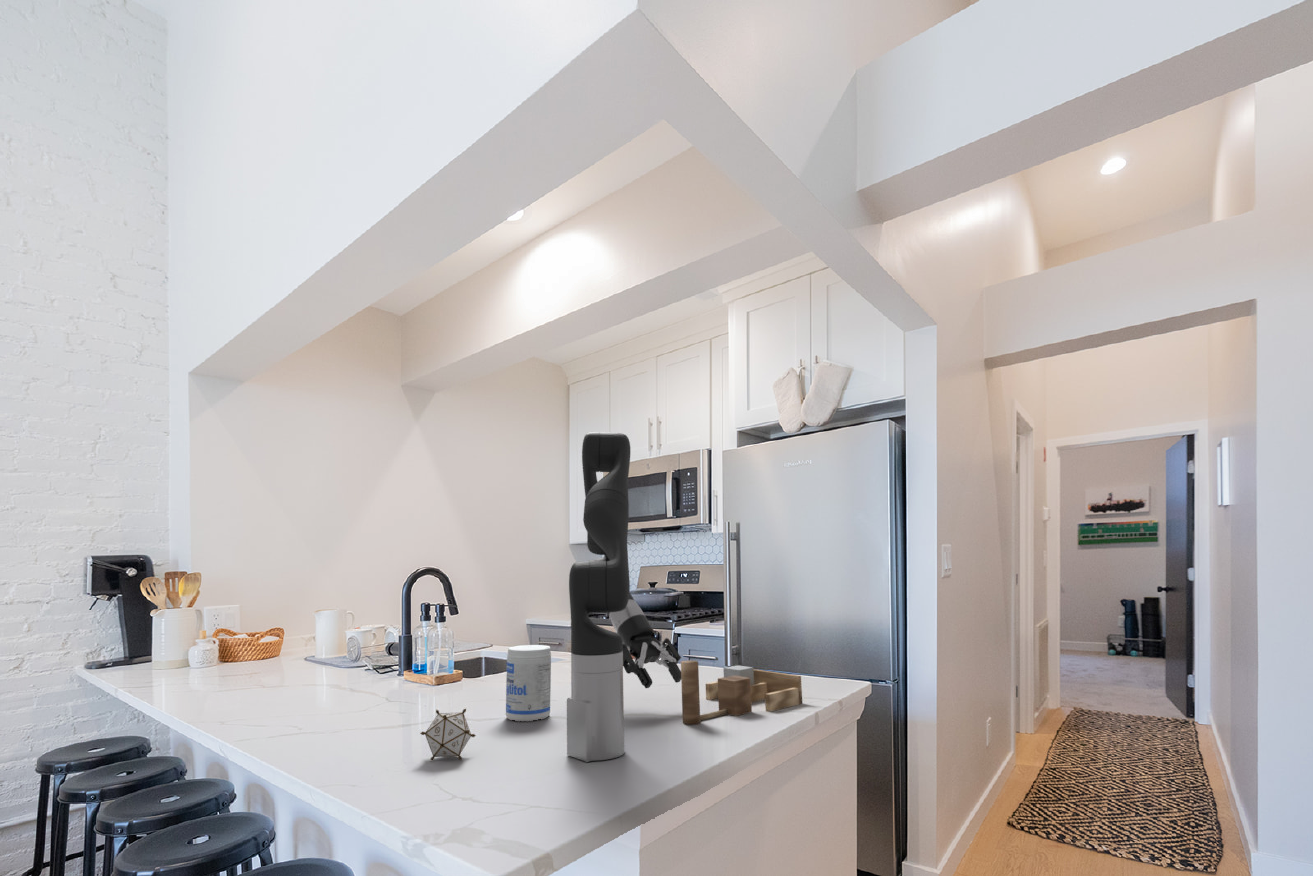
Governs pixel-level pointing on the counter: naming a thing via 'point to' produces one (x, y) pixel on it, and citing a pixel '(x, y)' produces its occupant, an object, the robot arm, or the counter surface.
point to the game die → (448, 734)
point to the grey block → (740, 672)
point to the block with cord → (730, 695)
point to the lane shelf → (769, 689)
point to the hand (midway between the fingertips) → (664, 682)
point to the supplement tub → (528, 682)
